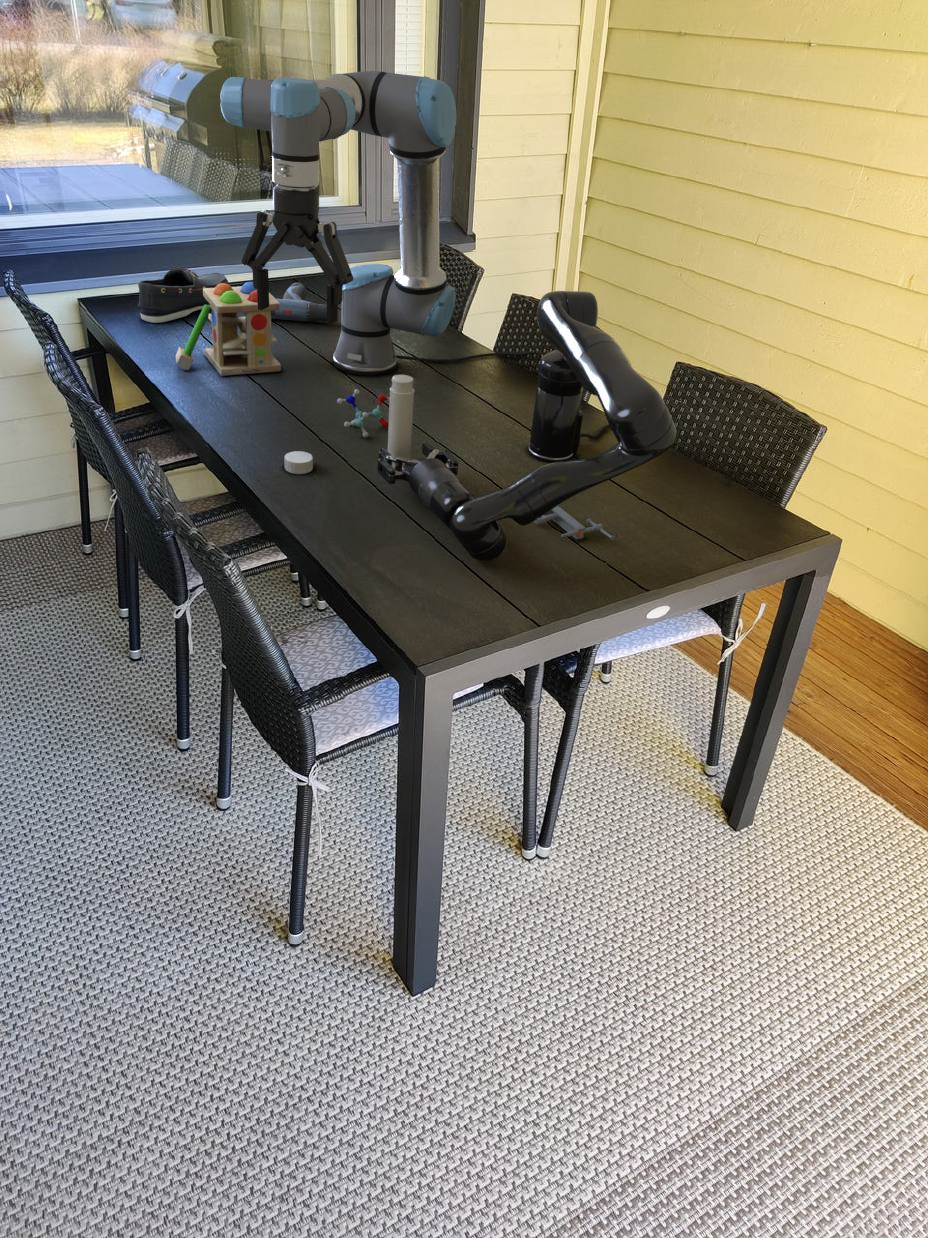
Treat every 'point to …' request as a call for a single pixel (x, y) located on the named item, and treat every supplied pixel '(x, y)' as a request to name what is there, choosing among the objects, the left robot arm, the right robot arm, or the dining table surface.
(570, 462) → the right robot arm
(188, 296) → the boat shoe
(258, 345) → the pounding bench toy
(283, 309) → the power drill
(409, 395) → the jar
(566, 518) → the clamp
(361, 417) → the molecular model
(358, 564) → the dining table surface
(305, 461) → the lid
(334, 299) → the left robot arm
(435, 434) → the dining table surface
